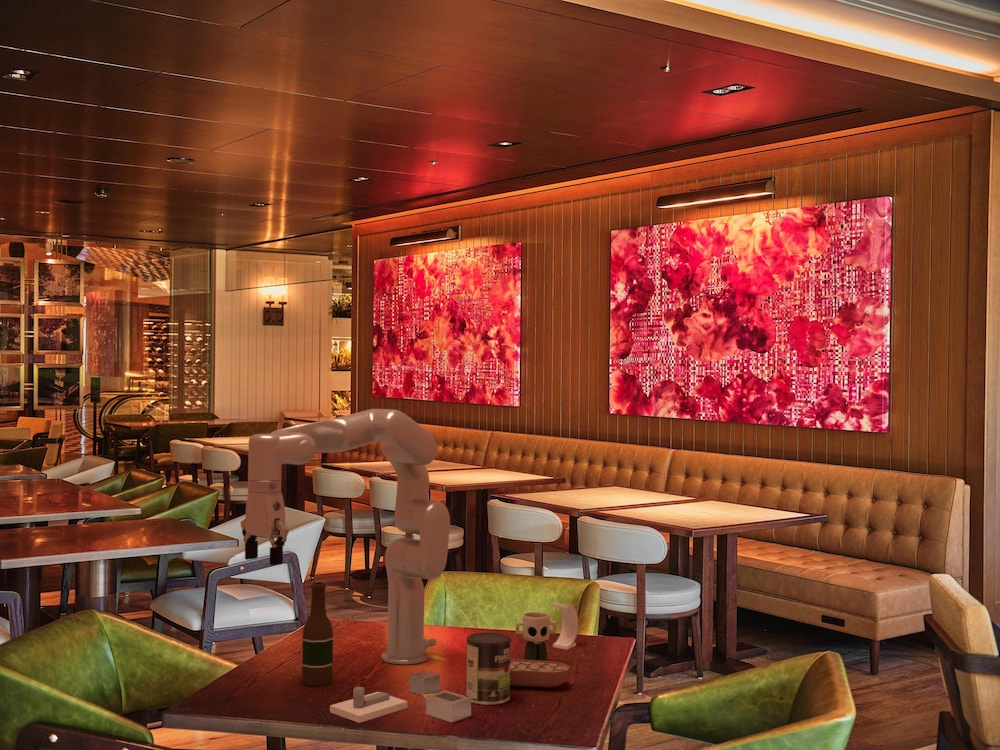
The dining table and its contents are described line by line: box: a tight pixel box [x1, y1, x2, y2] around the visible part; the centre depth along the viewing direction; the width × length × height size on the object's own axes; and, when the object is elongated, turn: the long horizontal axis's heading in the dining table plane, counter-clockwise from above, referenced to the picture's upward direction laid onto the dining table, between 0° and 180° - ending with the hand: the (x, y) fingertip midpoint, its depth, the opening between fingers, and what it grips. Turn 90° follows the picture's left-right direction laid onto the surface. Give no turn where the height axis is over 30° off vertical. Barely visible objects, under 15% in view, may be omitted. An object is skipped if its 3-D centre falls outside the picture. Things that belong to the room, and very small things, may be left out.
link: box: [425, 689, 472, 724], centre depth 226 cm, size 6×8×4 cm
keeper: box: [329, 686, 408, 724], centre depth 229 cm, size 14×10×6 cm
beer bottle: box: [301, 581, 334, 687], centre depth 250 cm, size 8×8×24 cm
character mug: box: [514, 611, 558, 661], centre depth 267 cm, size 11×7×13 cm, turn 99°
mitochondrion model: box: [510, 659, 570, 689], centre depth 249 cm, size 23×10×5 cm, turn 88°
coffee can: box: [465, 632, 512, 706], centre depth 239 cm, size 10×10×14 cm
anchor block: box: [409, 670, 441, 697], centre depth 243 cm, size 5×5×4 cm
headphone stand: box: [552, 602, 579, 651], centre depth 286 cm, size 5×6×12 cm
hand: (263, 561), depth 238 cm, fingers open, 9 cm apart
